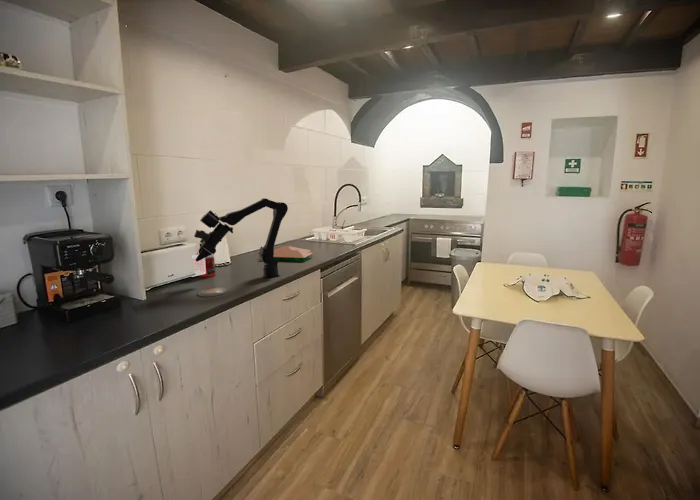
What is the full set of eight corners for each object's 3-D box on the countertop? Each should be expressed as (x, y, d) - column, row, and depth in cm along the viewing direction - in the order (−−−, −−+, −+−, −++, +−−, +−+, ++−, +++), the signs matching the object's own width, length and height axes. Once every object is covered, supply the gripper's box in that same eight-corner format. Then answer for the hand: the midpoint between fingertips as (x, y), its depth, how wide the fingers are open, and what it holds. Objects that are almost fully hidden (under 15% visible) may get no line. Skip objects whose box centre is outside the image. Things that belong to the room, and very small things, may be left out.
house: (273, 254, 249) (273, 242, 247) (318, 255, 239) (317, 243, 238) (256, 261, 227) (255, 248, 226) (304, 263, 218) (303, 249, 216)
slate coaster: (221, 287, 169) (220, 285, 169) (230, 292, 160) (230, 291, 160) (194, 292, 162) (194, 291, 161) (203, 298, 152) (203, 297, 152)
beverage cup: (201, 275, 167) (197, 246, 165) (190, 275, 169) (187, 246, 167) (210, 272, 173) (207, 244, 170) (200, 271, 175) (196, 243, 172)
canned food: (210, 278, 187) (208, 257, 185) (197, 277, 189) (194, 257, 187) (218, 274, 194) (216, 254, 192) (205, 274, 196) (203, 254, 194)
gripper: (202, 222, 177) (180, 246, 174) (205, 225, 160) (181, 252, 157) (220, 236, 181) (200, 260, 179) (225, 240, 165) (202, 267, 162)
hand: (195, 259), depth 169 cm, fingers closed on beverage cup, 6 cm apart
